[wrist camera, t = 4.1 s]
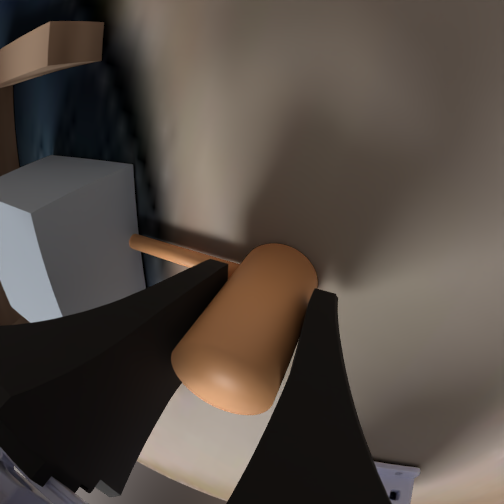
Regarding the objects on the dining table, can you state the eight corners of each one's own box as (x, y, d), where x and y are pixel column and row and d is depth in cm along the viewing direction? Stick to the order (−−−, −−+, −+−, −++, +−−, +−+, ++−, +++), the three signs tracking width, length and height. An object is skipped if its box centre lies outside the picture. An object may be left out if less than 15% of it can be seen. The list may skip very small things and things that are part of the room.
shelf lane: (104, 22, 8) (-46, 33, 3) (138, 356, 17) (78, 427, 12) (2, 63, 10) (-84, 89, 6) (45, 301, 20) (-8, 347, 15)
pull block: (336, 203, 8) (298, 302, 5) (300, 349, 12) (260, 448, 8) (50, 155, 12) (-28, 190, 8) (70, 261, 15) (11, 306, 11)
